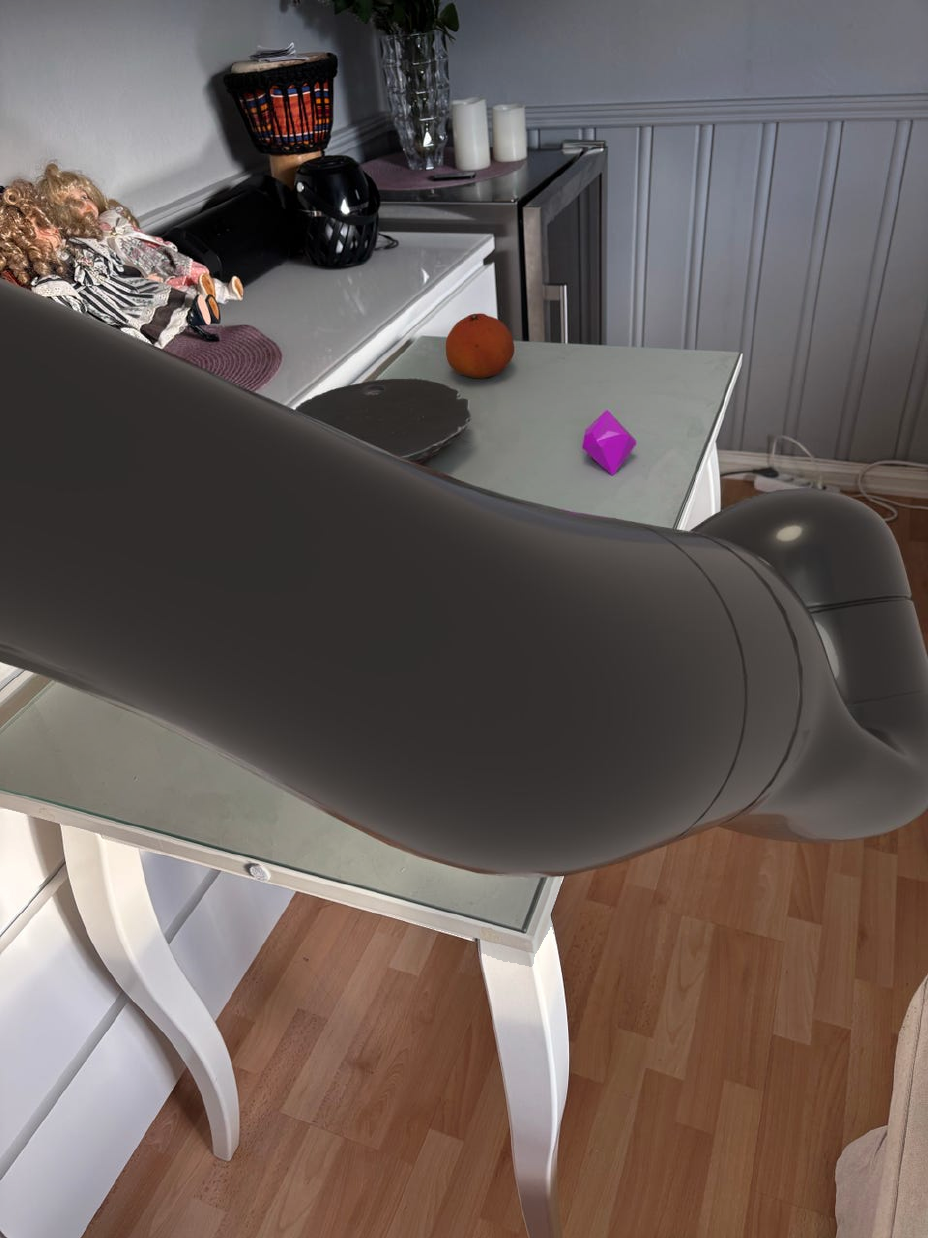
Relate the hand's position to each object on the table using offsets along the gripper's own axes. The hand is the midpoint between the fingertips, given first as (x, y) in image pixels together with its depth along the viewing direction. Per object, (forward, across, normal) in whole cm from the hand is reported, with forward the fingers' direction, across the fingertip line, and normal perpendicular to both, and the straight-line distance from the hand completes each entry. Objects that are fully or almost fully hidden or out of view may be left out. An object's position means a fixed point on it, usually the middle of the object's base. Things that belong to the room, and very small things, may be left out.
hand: (458, 747), depth 58 cm
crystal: (+30, +41, +17) cm, 53 cm away
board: (+43, +23, +31) cm, 58 cm away
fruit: (+50, +44, +37) cm, 76 cm away
